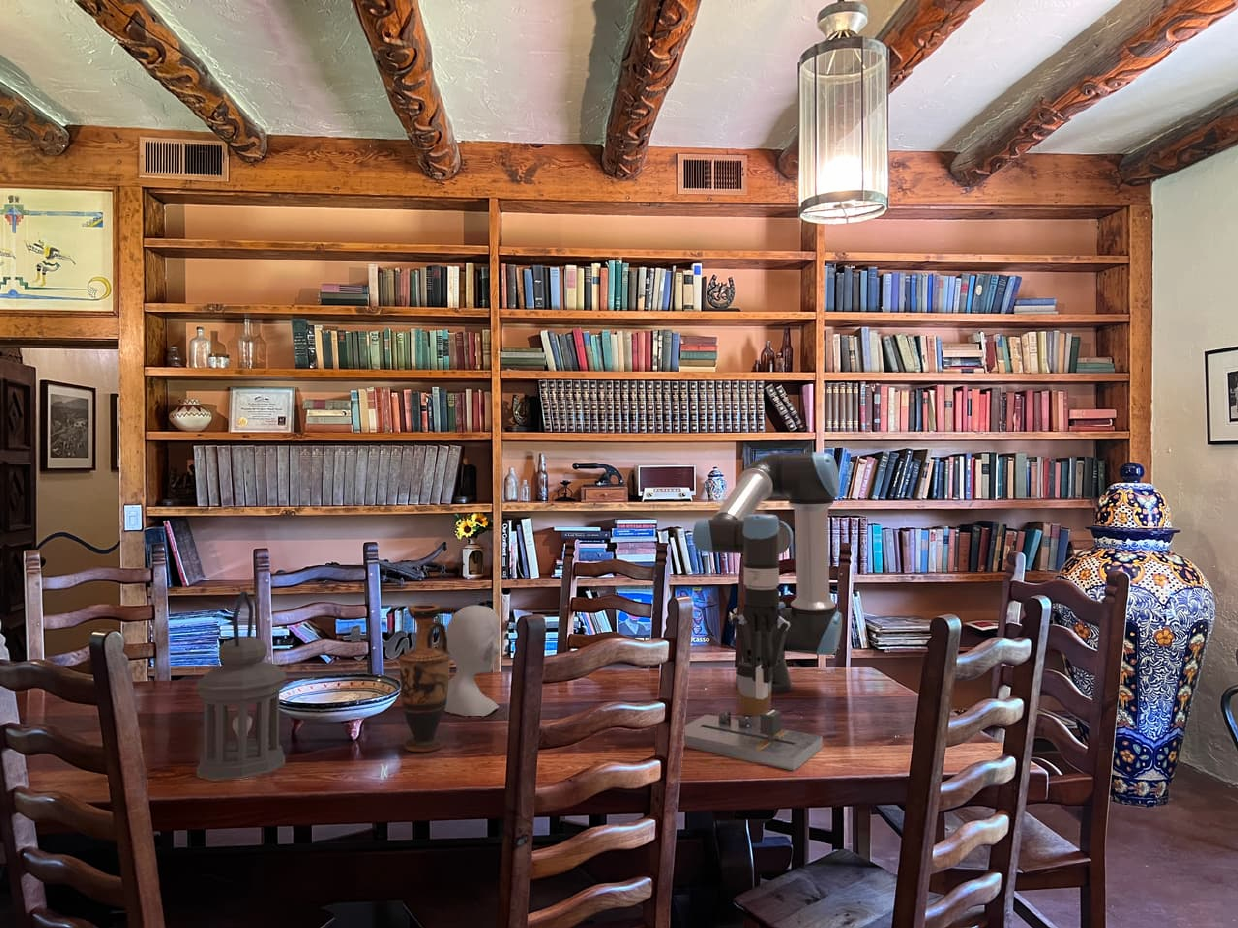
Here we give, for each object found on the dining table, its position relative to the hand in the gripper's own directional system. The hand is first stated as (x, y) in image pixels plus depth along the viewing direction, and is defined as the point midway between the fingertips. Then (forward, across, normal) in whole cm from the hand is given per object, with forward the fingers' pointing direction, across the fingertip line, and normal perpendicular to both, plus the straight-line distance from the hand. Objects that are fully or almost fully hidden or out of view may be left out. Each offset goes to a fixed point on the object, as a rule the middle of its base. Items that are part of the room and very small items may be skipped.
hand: (761, 697), depth 171 cm
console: (+11, -3, 0) cm, 11 cm away
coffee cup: (+11, -7, +12) cm, 18 cm away
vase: (+11, -60, -40) cm, 73 cm away
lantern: (+11, -82, -69) cm, 107 cm away
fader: (+11, +2, 0) cm, 11 cm away
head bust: (+11, -75, -10) cm, 77 cm away
